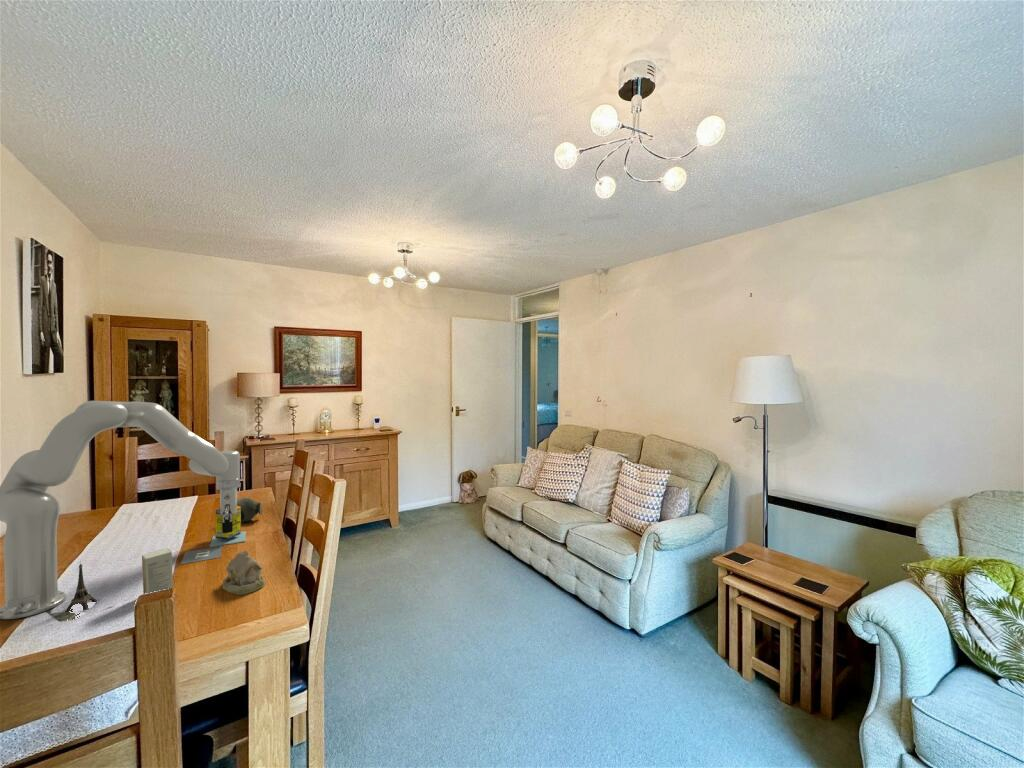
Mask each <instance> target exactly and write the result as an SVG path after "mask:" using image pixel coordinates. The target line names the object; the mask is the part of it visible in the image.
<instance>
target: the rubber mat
mask: <svg viewBox="0 0 1024 768" xmlns="http://www.w3.org/2000/svg"><path fill="white" fill-rule="evenodd" d="M246 538H247V530H244V531H241V534H240V535H237V536H235V537H232V538H230V539H219V538H215V535H213V536H212V538H211V541H210V543H209V548H214V547H220V546H227V545H233V544H238V543H245V542H246Z"/></svg>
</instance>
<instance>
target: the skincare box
mask: <svg viewBox="0 0 1024 768" xmlns="http://www.w3.org/2000/svg"><path fill="white" fill-rule="evenodd" d="M172 554H173V553H172V551H171V549H170V548H168V547H167V548H163V549H160V550H156V551H152V552H148V553H144V554H142V555H141V565H142V566H141V569H142V570H141V571H142V590H143V595H144V594H145V593H150V592H154V591H159V590H163V589H168V588H172V589H173V590H174V581H173V580H174V578H173V577H174V575H173V555H172Z"/></svg>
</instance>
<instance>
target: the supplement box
mask: <svg viewBox="0 0 1024 768" xmlns="http://www.w3.org/2000/svg"><path fill="white" fill-rule="evenodd" d="M229 508H230V506H229ZM229 513H231V510H229ZM232 521H233V531H232V532H229V533H222V522H223V516H222V515H221V508H217V509H215V533H214V536H215V538H219V539H230V538H232V537H235V536H237V535H240V534H241V532H242V531H241V527H242V524H241V523H242V522H241V507H240V506H237V513H236V514H232Z"/></svg>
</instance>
